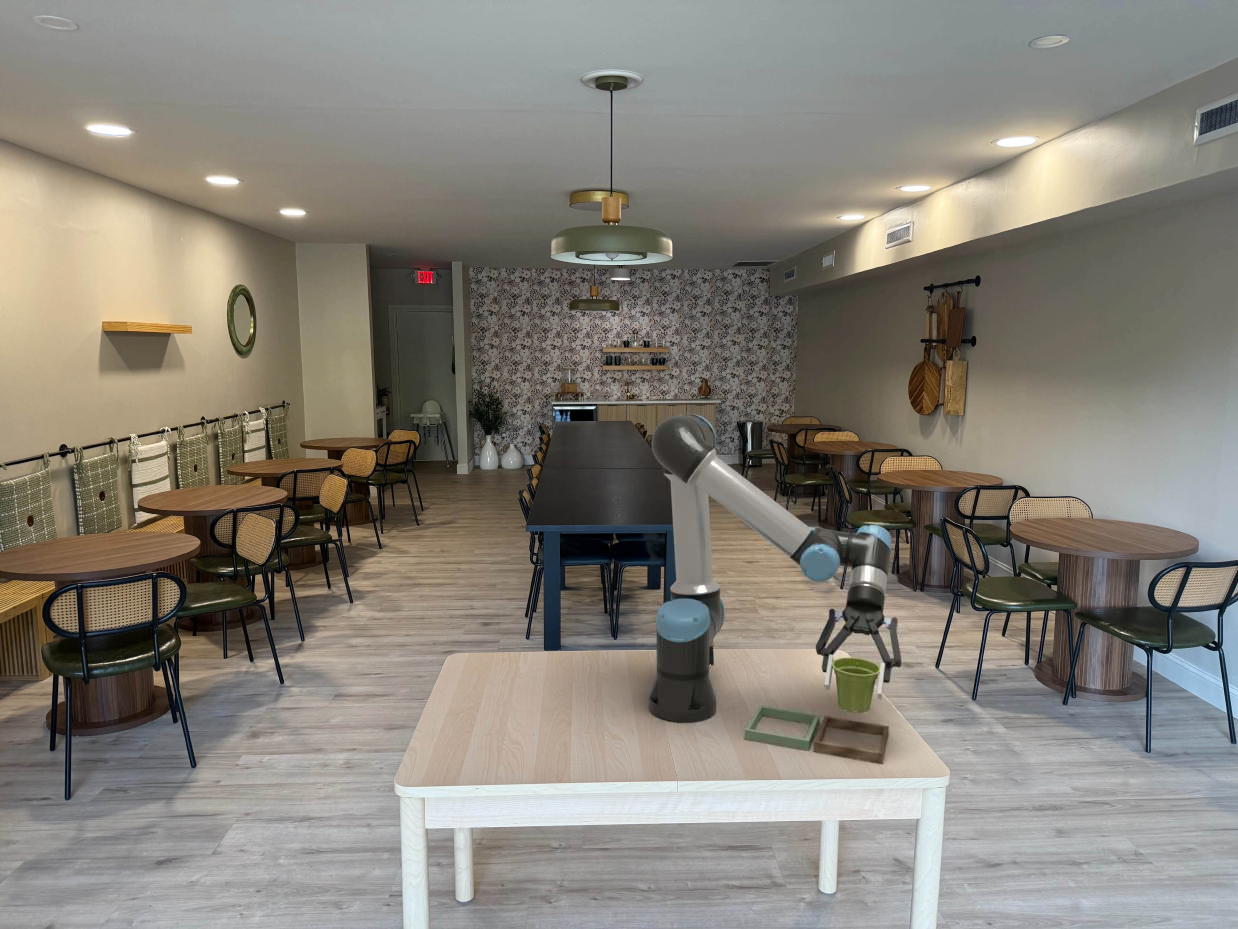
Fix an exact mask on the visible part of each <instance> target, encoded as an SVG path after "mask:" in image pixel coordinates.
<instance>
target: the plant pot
mask: <svg viewBox="0 0 1238 929" xmlns="http://www.w3.org/2000/svg"><path fill="white" fill-rule="evenodd" d="M832 667H833V672H834V675H835V682H836V692H837V704H838V707H839V708H840V709H841V710H843V711H846V712H849V713H853V712H856V713H859V714H864V713H867V712H869V711H870V710H871V709H870V708H871V704H872V699H873V694H874V690H875V685H876V681H877V679H878V677H879V676H878V675H880V667H881V665H880V666H879V664H877V663H876V662H873V661H871V660H868V659H864V658H861V657H860V658H859V657H840V658H837V659H836V658H835V659H834V661H833V662H832Z"/></svg>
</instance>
